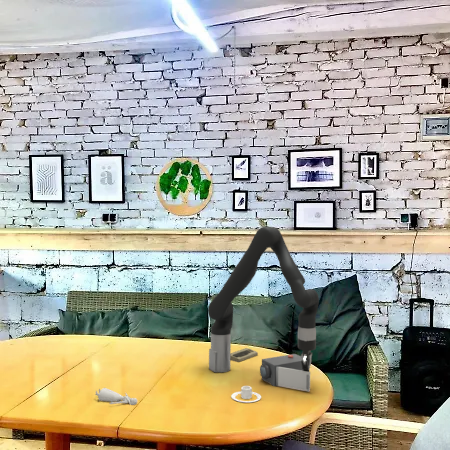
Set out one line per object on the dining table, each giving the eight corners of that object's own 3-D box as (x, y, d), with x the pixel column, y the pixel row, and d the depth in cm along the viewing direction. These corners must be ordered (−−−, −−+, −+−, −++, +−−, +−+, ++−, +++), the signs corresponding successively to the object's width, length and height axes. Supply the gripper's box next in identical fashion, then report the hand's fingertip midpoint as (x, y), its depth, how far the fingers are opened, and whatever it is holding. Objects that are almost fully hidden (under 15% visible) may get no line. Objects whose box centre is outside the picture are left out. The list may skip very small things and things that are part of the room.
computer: (238, 363, 247) (239, 356, 247) (226, 360, 252) (226, 353, 252) (258, 356, 259) (258, 350, 259) (245, 353, 264) (245, 347, 264)
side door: (275, 385, 214) (275, 367, 213) (276, 384, 215) (276, 366, 215) (308, 392, 207) (309, 372, 206) (310, 390, 208) (310, 371, 208)
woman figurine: (106, 382, 205) (144, 391, 199) (105, 393, 205) (144, 402, 199) (88, 392, 194) (129, 401, 188) (88, 403, 195) (128, 413, 188)
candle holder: (252, 406, 194) (252, 395, 194) (225, 399, 200) (225, 389, 200) (266, 396, 204) (266, 386, 204) (240, 390, 210) (241, 380, 210)
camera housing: (269, 387, 213) (269, 364, 213) (256, 380, 222) (257, 358, 222) (308, 379, 223) (308, 357, 223) (294, 373, 232) (294, 352, 232)
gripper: (300, 332, 218) (300, 372, 219) (295, 340, 206) (294, 382, 206) (317, 334, 216) (317, 373, 217) (313, 342, 203) (313, 384, 204)
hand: (306, 378), depth 212 cm, fingers closed
